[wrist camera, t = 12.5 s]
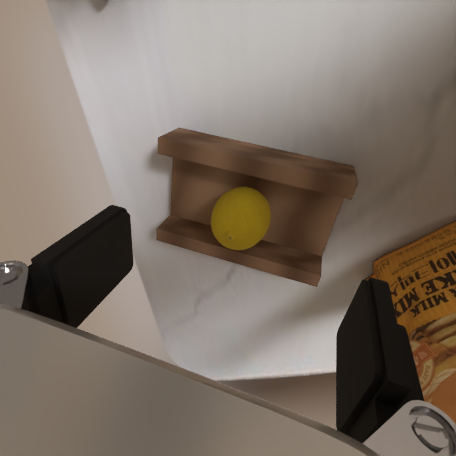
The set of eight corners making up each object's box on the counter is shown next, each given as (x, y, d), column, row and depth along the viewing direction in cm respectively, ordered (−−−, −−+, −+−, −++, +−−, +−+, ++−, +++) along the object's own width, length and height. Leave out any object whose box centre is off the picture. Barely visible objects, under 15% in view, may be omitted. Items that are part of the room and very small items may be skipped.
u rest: (353, 166, 28) (357, 183, 24) (317, 260, 34) (316, 286, 31) (179, 127, 31) (158, 137, 28) (174, 220, 37) (156, 239, 34)
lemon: (281, 220, 32) (268, 262, 25) (233, 226, 34) (210, 267, 27) (269, 171, 30) (252, 203, 23) (219, 181, 32) (190, 213, 25)
